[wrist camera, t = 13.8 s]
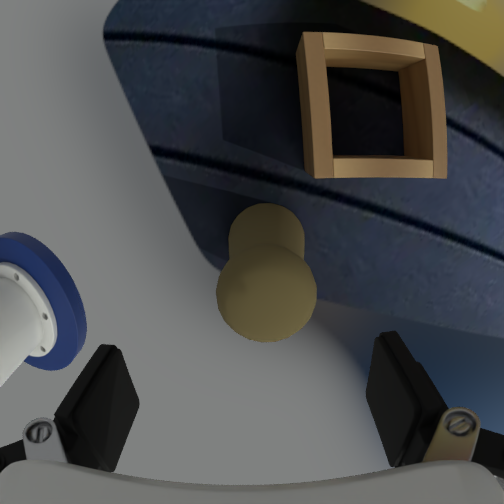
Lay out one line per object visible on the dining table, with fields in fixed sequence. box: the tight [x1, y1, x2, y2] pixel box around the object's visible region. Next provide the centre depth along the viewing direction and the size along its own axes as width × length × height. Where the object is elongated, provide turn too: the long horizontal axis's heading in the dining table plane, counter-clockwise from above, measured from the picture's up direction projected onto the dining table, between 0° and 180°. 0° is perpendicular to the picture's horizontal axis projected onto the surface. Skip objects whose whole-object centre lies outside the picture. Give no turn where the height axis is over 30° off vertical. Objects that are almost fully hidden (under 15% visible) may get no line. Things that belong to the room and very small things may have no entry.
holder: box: [296, 32, 447, 179], centre depth 19 cm, size 9×9×5 cm
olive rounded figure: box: [216, 203, 317, 342], centre depth 20 cm, size 6×6×11 cm
